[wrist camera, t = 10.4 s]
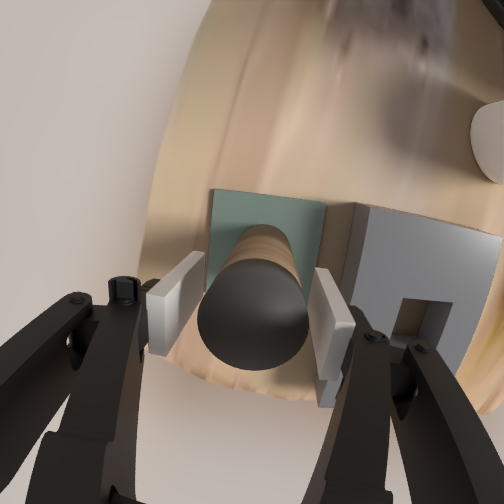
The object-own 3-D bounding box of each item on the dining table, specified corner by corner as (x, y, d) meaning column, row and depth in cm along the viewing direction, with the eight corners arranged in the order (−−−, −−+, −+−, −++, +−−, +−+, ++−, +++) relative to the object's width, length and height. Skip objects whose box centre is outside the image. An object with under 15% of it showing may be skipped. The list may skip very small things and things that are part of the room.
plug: (239, 221, 23) (200, 264, 11) (294, 228, 23) (319, 279, 10) (234, 273, 24) (195, 361, 12) (286, 280, 24) (297, 375, 12)
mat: (215, 188, 23) (214, 189, 23) (325, 203, 23) (326, 203, 22) (206, 291, 26) (205, 293, 25) (307, 305, 25) (308, 307, 25)
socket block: (355, 202, 23) (370, 206, 19) (478, 229, 22) (502, 238, 18) (314, 381, 27) (318, 407, 23) (426, 382, 26) (439, 403, 23)
